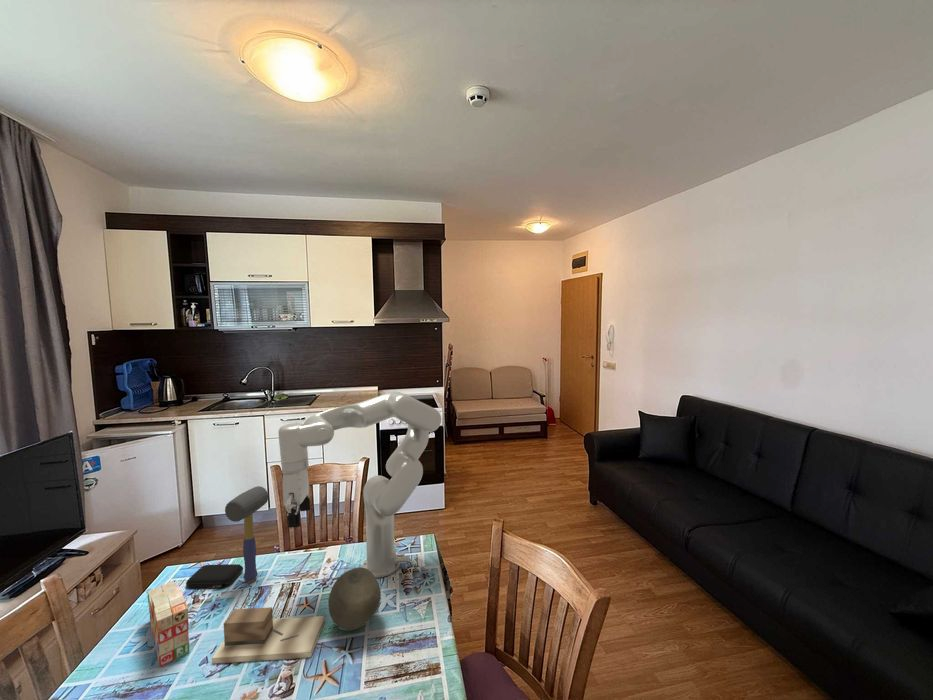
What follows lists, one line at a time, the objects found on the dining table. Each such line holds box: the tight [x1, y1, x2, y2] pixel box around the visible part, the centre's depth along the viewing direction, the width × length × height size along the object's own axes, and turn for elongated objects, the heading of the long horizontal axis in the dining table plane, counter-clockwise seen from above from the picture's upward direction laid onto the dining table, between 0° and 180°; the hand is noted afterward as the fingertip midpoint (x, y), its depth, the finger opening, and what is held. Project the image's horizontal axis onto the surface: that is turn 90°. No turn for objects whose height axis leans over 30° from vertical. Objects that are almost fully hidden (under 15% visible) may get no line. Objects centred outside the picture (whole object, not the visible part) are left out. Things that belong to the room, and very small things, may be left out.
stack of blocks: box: [147, 580, 190, 668], centre depth 103 cm, size 21×6×12 cm, turn 45°
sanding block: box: [223, 606, 274, 646], centre depth 101 cm, size 10×5×6 cm, turn 93°
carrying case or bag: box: [185, 563, 244, 589], centre depth 127 cm, size 11×3×15 cm
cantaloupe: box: [327, 566, 382, 631], centre depth 107 cm, size 14×14×15 cm
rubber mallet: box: [224, 485, 269, 583], centre depth 126 cm, size 12×8×30 cm, turn 170°
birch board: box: [211, 615, 326, 665], centre depth 102 cm, size 24×12×2 cm, turn 94°
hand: (300, 518), depth 118 cm, fingers open, 9 cm apart
